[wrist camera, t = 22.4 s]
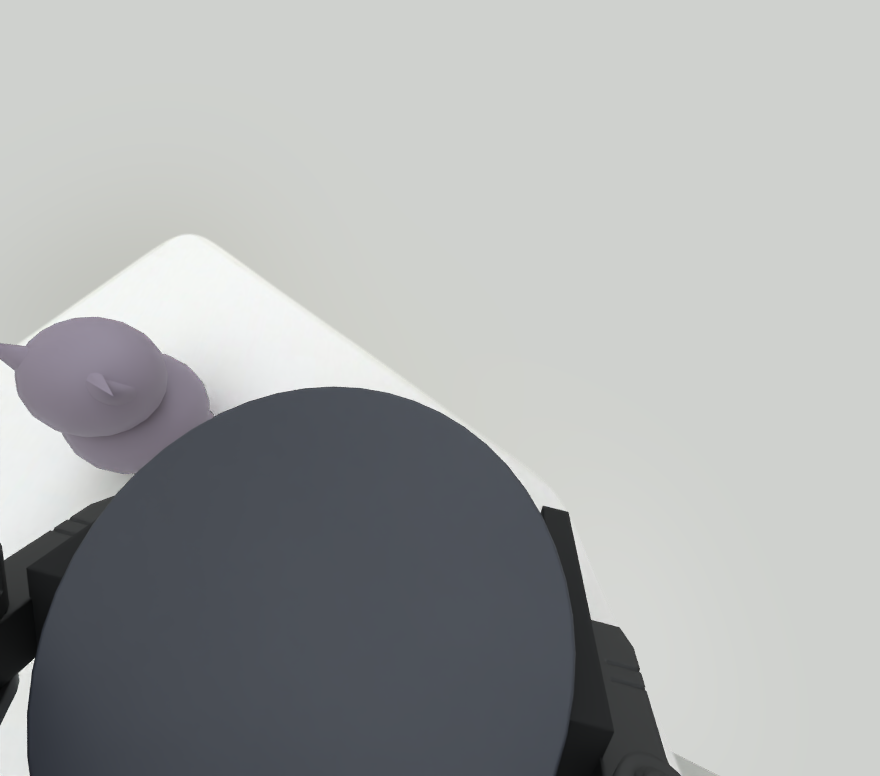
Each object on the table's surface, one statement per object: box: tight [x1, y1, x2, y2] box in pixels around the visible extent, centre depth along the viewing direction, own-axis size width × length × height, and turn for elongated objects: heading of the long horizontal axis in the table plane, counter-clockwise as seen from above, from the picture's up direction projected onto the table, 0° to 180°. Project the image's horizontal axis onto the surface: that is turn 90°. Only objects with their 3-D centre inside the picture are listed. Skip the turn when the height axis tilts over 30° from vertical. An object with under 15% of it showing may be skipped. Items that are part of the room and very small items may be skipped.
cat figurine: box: [0, 317, 214, 474], centre depth 29 cm, size 8×8×12 cm
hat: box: [27, 387, 576, 776], centre depth 13 cm, size 14×14×10 cm
